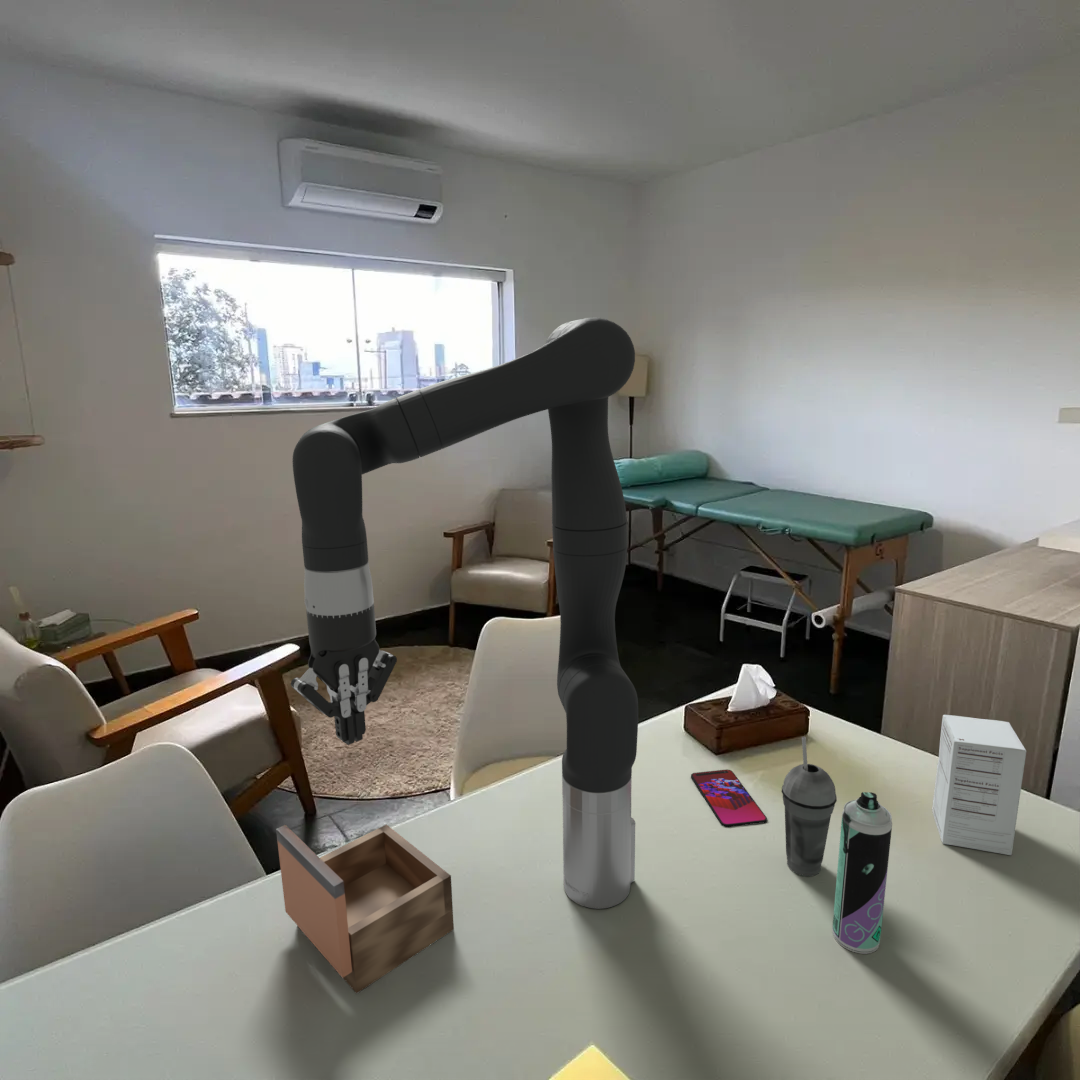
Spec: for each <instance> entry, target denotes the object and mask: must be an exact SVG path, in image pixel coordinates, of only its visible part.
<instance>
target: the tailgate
mask: <svg viewBox="0 0 1080 1080" xmlns="http://www.w3.org/2000/svg"><path fill="white" fill-rule="evenodd" d="M275 832H276V840H277V841H276V842H277V849H278V857H279V858H278V859H279V866H280V867H279V868H280V874H281V875H280V876H281V883H282V892H283V901H284V908H285V909H284V910H285V913H286V914H287V915H288V917H289V918H290V919H291V920H292V921H293V922H294V924H295V925H296V926H297V927H298V928H299V930H301V932H303V934H304V935H305V936H306V937H307V939H308V940H309V941H310V942H311V943H312V944H313V945H314V947H316V949H317V950H318V951H319V952H320V953H321V955H322V956H323V957H324V958H325V959H326V960H327V962H329V964H330V965H331V966H332V968H333V969H334V970H335V971H336V972H337V973H338V974H339V976H341V978H342V979H344V978H343V977H345V976H346V975H348V974H350V973H351V972H352V965H351V954H350V944H349V933H348V922H347V911H346V901H345V890H344V881H343V880H342V879H341V878H340V877H339V876H338V875H337V874H336V873H335V872H334V871H333V870H332V869H331V868H329V867H328V866H327V865H326V864H325V863H324V862H323V861H322V860H321V859H320V856H319V855H317V854H316V853H315V852H314V851H313V850H312V849H311V848H310V847H309V846H308V844H306V843H305V842H304V841H303V839H301V838H300V837H299V836H298V835H297V834H295V832H294V831H293V830H292V829H291V828H290V827H288V826H287V825H286V824H284V825H282V826H281V825H280V826H279V827H277V828H275Z"/></svg>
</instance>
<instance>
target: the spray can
mask: <svg viewBox="0 0 1080 1080" xmlns="http://www.w3.org/2000/svg"><path fill="white" fill-rule="evenodd" d="M877 799H878V795H877V794H876V793H875V792H869V791H868V792H867V791H862V792H861V794H860V797H858V798H856V799H853V800H848V801H847V802H845V804H844V805H843V810H842V813H841V814H842V815H841V823H840V824H841V826H840V837H839V848H838V860H837V869H836V871H837V872H836V883H835V893H834V905H833V918H832V932H831V933H832V936H833V938H834V940H835V941H836V942H837V943H838V945H840V946H841V947H843V948H844V949H846V950H848V951H850V952H853V953H856V954H864V955H866V954H867V955H868V954H872V953H874V952H876V951H877V950H878V949H879V947H880V942H881V935H882V926H883V915H884V906H885V897H886V887H887V878H888V867H889V859H890V850H891V840H892V839H891V838H892V829H893V821H892V819H893V816H892V814H891V812H890V810H888V809H887V808H886V807H885V806H883V805H882V804H881V803H880V802H879V800H877Z"/></svg>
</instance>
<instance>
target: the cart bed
mask: <svg viewBox="0 0 1080 1080" xmlns="http://www.w3.org/2000/svg"><path fill="white" fill-rule="evenodd" d="M319 858H320V859H321V860H322V861H323V862H324V863H325V864H326V865H327V866H328V867H329V868H331V869H332V870H333V871H334V872H335V873H336V874H337V875H338V876H339V877H340V878H341V879H342V880H343V881H344V890H345V901H346V911H347V922H348V933H349V944H350V954H351V965H352V972H351V973H350V974H348V975H346V976H345V977H343V978H342V979H343V980H344V981H345V982H346V983H347V985H348V986H349V987H350V989H352V990H353V991H354V992H355V994H358V993H360V992H361V991H363V990H364V989H366V988H367V987H369V986H370V985H372V984H373V983H375V982H377V981H378V980H380V979H381V978H383V977H384V976H386V975H388V974H389V973H390V972H392V971H393V970H394V969H397V967H400V966H401V965H403V964H404V963H406V962H407V961H408V960H410V959H411V958H413V957H414V956H416V955H417V953H418V954H419V953H420V952H422V951H424V950H425V949H427V948H428V947H430V946H431V945H433V944H434V943H436V942H437V941H439V940H440V939H442V938H443V937H445V936H447V935H448V934H449V933H451V932H452V931H454V930H455V928H454V927H455V926H454V909H453V908H454V907H453V893H452V888H453V887H452V875H451V874H450V873H448V872H447V871H446V870H444V869H443V868H442V866H441V867H440V865H438V864H437V863H435V861H434V860H432V859H431V858H430V857H428V855H426V854H424V853H423V852H422V851H420V849H419V848H417V847H416V846H414V845H413V844H412V843H411V842H410V841H408V840H407V839H405V838H404V837H403V836H402V835H400V834H399V833H398V832H397V831H395V830H394V829H393V828H392V827H391V826H389V825H387V824H384V825H382V826H380V827H378V828H376V829H375V830H374V829H373V830H372V831H369V832H368V833H367V834H364V835H363V836H360V837H358V838H356V839H354V840H353V841H350V842H348V843H347V844H345V845H342V846H341V847H338V848H336V849H335V850H332V851H330V852H328V853H326V854H324V855H322V856H319ZM447 933H448V934H447ZM441 937H442V938H441ZM438 939H439V940H438ZM436 940H437V941H436ZM435 941H436V942H435ZM432 943H433V944H432ZM430 944H431V945H430ZM429 945H430V946H429ZM426 947H427V948H426Z"/></svg>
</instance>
